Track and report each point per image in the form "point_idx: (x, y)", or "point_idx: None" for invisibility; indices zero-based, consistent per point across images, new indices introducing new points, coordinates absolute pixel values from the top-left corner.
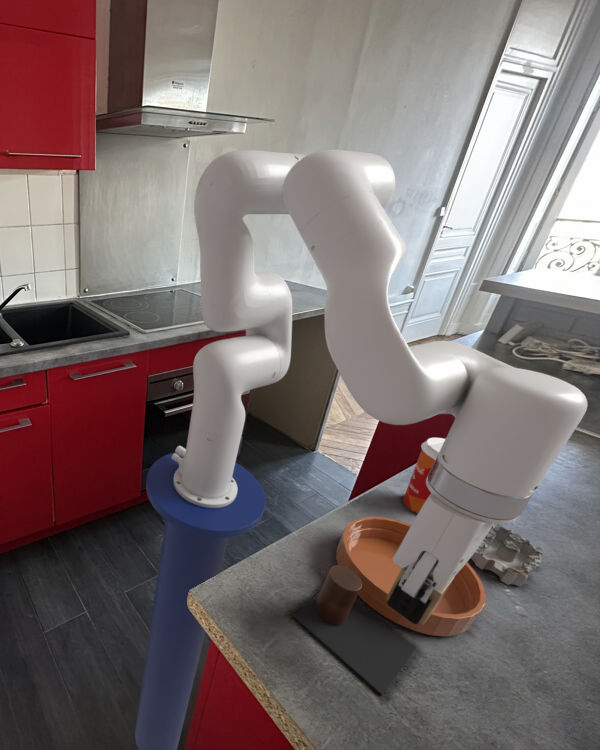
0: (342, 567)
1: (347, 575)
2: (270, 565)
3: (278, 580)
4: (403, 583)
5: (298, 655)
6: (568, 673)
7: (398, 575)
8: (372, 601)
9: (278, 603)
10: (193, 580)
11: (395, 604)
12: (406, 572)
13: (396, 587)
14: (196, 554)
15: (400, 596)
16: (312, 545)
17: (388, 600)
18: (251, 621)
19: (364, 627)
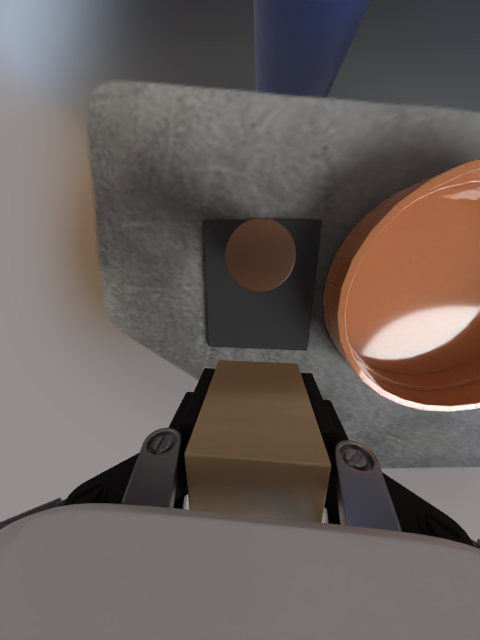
0: (285, 236)
1: (269, 256)
2: (264, 118)
3: (246, 156)
4: (70, 501)
5: (162, 260)
6: (416, 454)
7: (196, 422)
8: (327, 289)
9: (205, 189)
10: (268, 73)
11: (185, 395)
12: (123, 503)
13: (186, 408)
14: (269, 15)
15: (173, 419)
16: (394, 139)
17: (203, 372)
18: (139, 183)
19: (279, 297)
